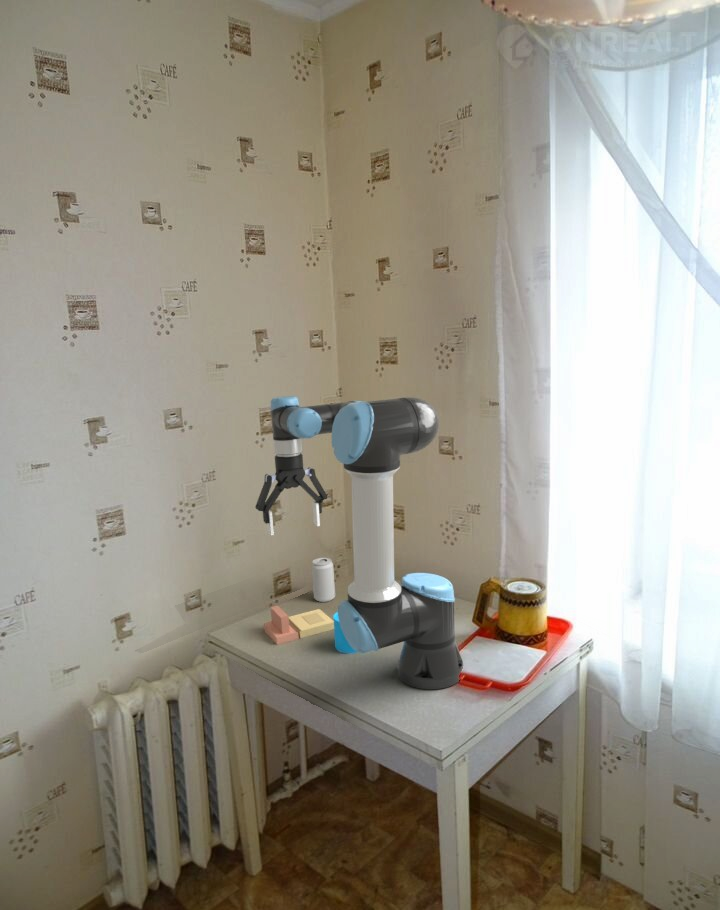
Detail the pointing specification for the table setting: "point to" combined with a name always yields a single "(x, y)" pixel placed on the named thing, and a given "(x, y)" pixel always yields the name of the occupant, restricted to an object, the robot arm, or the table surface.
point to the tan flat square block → (311, 623)
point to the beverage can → (323, 579)
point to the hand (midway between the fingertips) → (294, 529)
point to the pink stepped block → (280, 627)
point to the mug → (341, 638)
